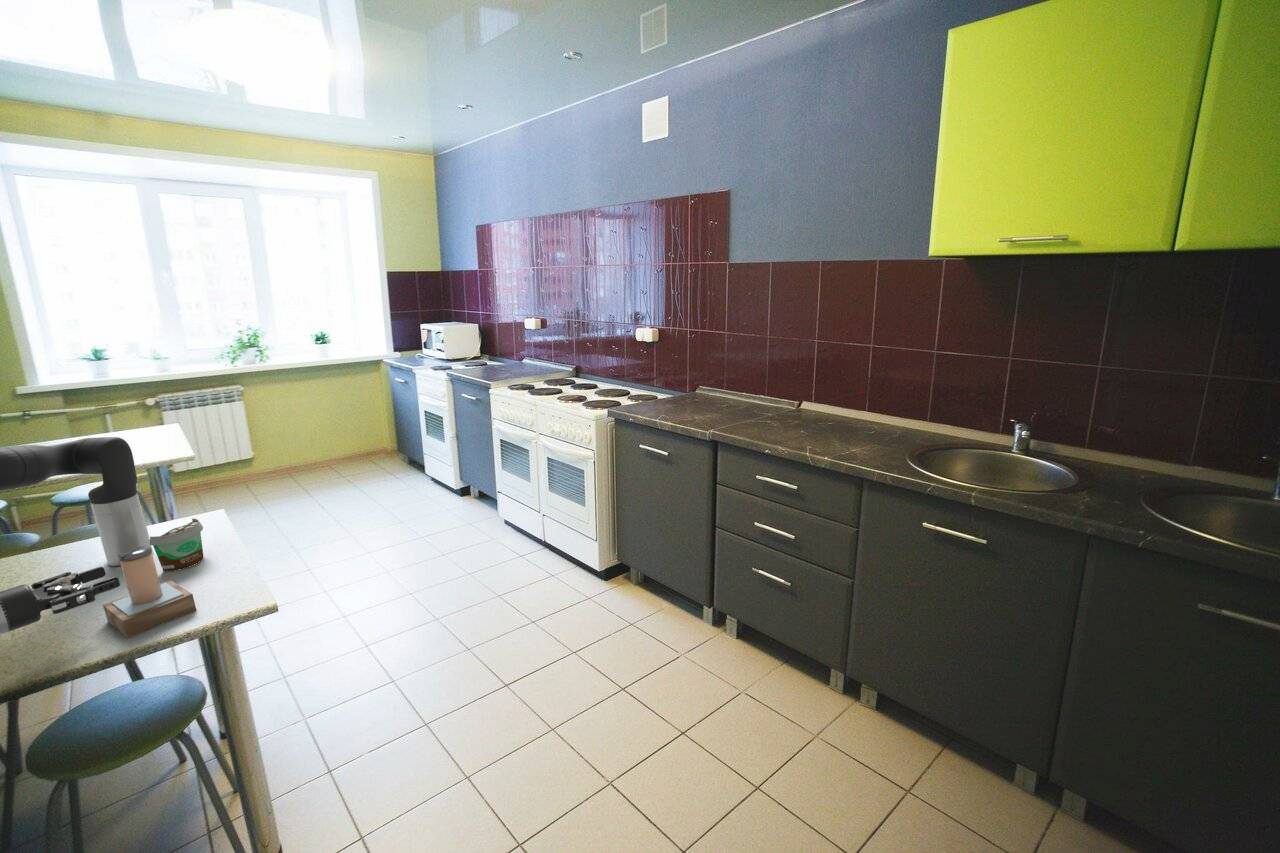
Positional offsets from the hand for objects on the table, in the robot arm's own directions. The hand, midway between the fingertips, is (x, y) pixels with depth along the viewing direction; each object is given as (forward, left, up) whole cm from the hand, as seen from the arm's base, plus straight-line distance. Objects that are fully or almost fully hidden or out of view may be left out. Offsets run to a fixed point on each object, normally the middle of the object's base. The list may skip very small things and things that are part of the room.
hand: (111, 575), depth 119 cm
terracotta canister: (0, +5, -8) cm, 9 cm away
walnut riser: (0, +5, -12) cm, 13 cm away
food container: (-22, +20, -12) cm, 32 cm away
